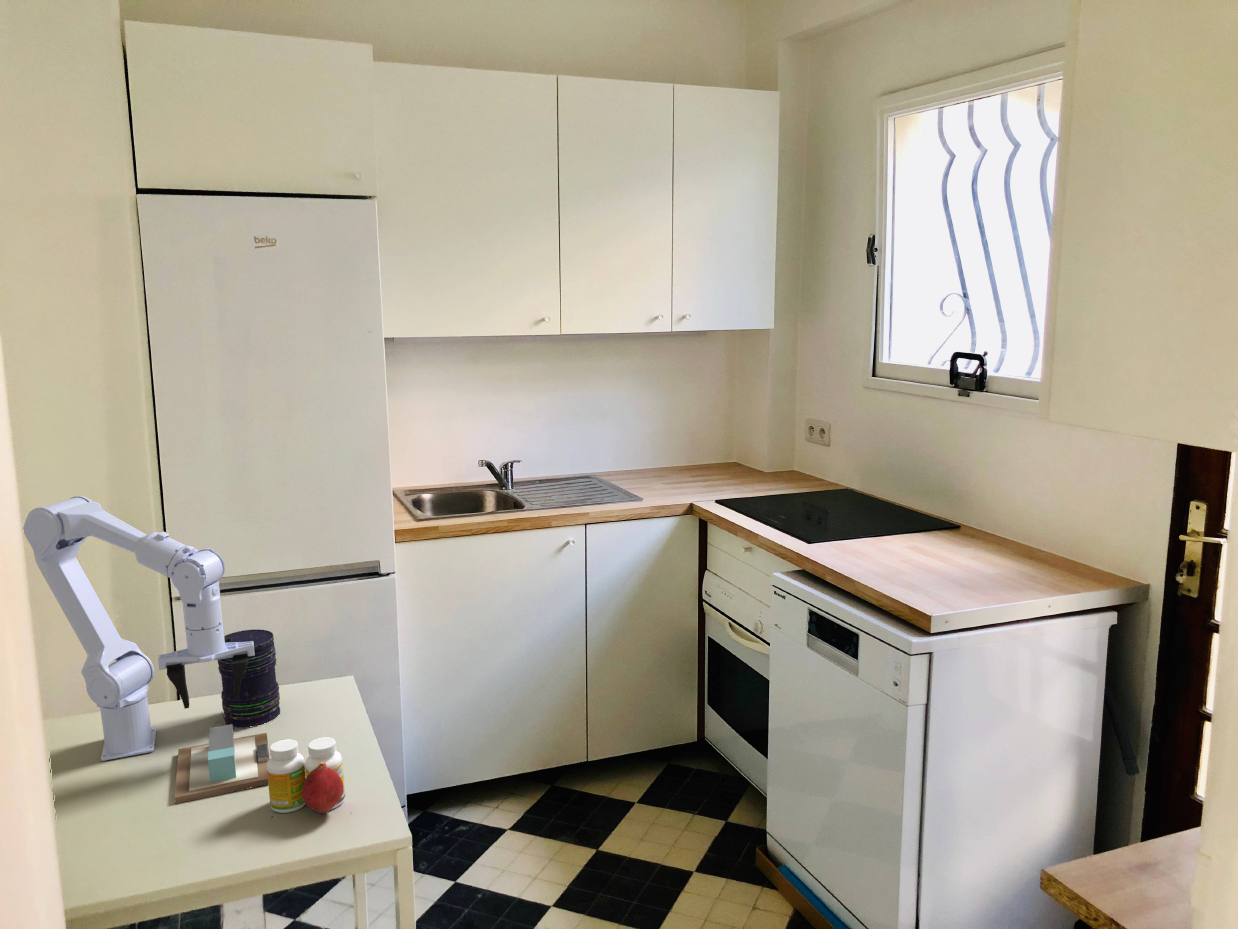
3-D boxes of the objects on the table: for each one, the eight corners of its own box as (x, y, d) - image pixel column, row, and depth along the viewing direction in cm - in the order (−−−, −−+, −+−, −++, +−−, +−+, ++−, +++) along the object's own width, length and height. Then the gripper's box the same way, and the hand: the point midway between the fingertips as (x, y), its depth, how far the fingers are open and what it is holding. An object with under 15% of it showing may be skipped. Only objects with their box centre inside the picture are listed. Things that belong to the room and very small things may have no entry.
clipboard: (179, 754, 160) (178, 744, 160) (267, 738, 165) (266, 728, 165) (175, 803, 145) (174, 792, 144) (272, 783, 150) (271, 773, 150)
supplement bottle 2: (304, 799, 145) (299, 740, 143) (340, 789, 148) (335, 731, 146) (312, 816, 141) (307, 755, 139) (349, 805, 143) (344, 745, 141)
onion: (309, 827, 137) (304, 776, 136) (300, 809, 142) (296, 760, 141) (349, 815, 140) (345, 765, 139) (339, 798, 145) (335, 749, 144)
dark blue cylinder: (286, 702, 180) (279, 627, 177) (274, 726, 170) (267, 647, 167) (231, 706, 178) (223, 631, 175) (216, 730, 169) (208, 651, 166)
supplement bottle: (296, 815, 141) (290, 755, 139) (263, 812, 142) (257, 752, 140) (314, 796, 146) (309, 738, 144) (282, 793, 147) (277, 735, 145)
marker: (210, 745, 161) (208, 724, 160) (234, 740, 162) (232, 720, 161) (210, 782, 148) (207, 760, 148) (236, 777, 150) (234, 755, 149)
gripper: (153, 639, 149) (162, 719, 152) (251, 625, 155) (259, 703, 157) (156, 625, 156) (165, 702, 158) (250, 612, 161) (257, 687, 164)
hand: (212, 701), depth 158 cm, fingers open, 7 cm apart
